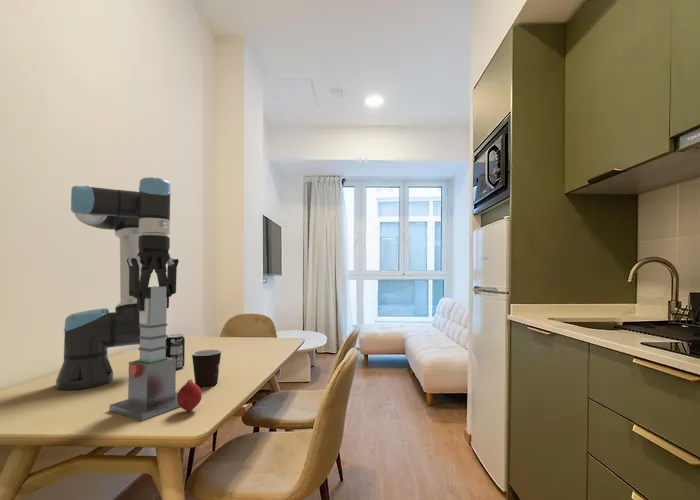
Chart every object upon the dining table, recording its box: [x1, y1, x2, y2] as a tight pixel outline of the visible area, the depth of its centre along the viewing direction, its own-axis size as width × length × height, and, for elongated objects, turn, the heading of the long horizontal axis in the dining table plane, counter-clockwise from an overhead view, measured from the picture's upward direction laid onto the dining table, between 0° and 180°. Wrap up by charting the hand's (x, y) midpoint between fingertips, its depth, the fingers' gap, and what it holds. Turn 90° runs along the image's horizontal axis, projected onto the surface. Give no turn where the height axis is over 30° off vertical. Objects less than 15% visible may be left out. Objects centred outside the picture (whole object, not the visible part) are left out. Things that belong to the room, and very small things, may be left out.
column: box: [137, 285, 168, 364], centre depth 99 cm, size 5×5×22 cm
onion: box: [177, 378, 203, 413], centre depth 94 cm, size 6×6×8 cm
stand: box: [108, 357, 181, 421], centre depth 98 cm, size 14×14×12 cm
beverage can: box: [166, 333, 186, 371], centre depth 137 cm, size 7×7×12 cm
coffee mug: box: [191, 349, 222, 389], centre depth 118 cm, size 12×9×10 cm
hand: (153, 322), depth 99 cm, fingers closed on column, 4 cm apart
